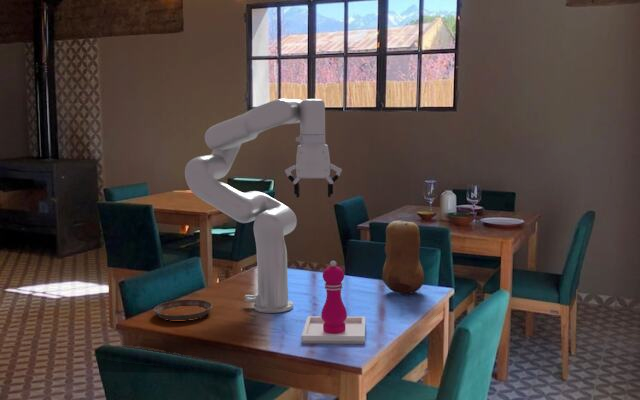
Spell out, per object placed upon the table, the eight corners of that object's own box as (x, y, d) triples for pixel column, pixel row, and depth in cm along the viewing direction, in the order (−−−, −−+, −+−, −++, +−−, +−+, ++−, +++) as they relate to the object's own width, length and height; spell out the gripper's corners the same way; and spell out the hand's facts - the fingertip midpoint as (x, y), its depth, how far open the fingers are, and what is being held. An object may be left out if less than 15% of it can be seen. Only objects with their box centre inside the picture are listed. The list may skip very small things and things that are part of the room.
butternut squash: (420, 287, 234) (421, 217, 231) (426, 298, 221) (426, 223, 218) (381, 288, 235) (380, 217, 231) (384, 298, 221) (383, 224, 218)
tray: (301, 343, 180) (301, 335, 180) (307, 323, 197) (307, 316, 197) (364, 344, 179) (364, 336, 179) (365, 323, 196) (365, 316, 196)
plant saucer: (168, 306, 218) (167, 297, 217) (220, 308, 215) (219, 299, 214) (145, 323, 201) (144, 313, 200) (201, 326, 198) (200, 316, 197)
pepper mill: (345, 335, 184) (343, 264, 181) (319, 333, 185) (317, 263, 183) (349, 326, 191) (348, 258, 188) (324, 325, 192) (322, 257, 190)
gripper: (282, 141, 198) (283, 198, 200) (340, 140, 197) (341, 198, 199) (286, 140, 206) (287, 195, 208) (342, 139, 204) (342, 195, 206)
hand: (313, 196), depth 203 cm, fingers open, 9 cm apart
